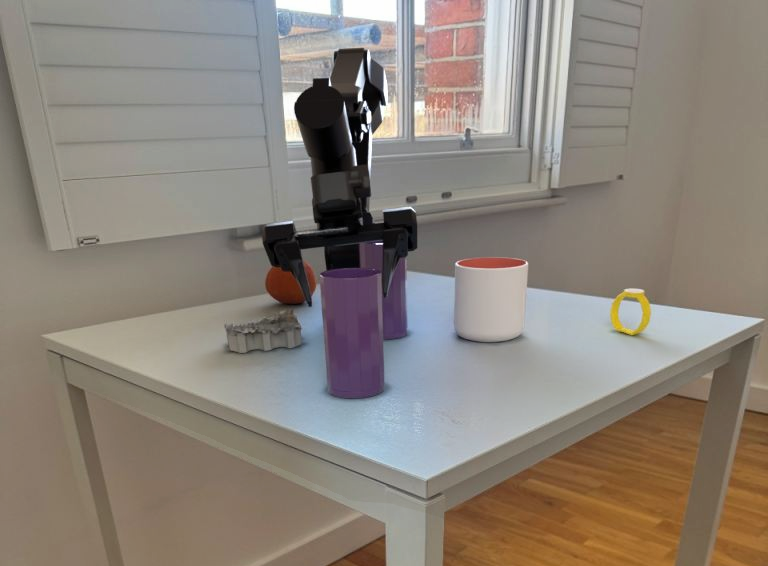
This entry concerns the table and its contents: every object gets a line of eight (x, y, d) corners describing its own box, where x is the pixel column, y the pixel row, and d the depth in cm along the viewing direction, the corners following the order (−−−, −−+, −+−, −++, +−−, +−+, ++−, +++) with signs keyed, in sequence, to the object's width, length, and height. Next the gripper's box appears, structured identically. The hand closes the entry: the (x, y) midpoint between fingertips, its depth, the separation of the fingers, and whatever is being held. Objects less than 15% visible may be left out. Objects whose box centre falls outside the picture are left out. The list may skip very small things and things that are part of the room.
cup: (522, 345, 96) (527, 269, 91) (449, 343, 98) (451, 268, 93) (524, 327, 104) (529, 257, 100) (457, 326, 106) (459, 257, 101)
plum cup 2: (353, 336, 103) (349, 242, 97) (378, 326, 108) (375, 236, 101) (391, 341, 99) (389, 245, 93) (415, 331, 104) (414, 238, 98)
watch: (604, 330, 101) (609, 288, 99) (617, 327, 103) (623, 285, 100) (637, 338, 97) (644, 294, 94) (651, 335, 98) (657, 292, 95)
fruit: (290, 296, 130) (286, 250, 126) (327, 300, 126) (323, 253, 122) (256, 305, 124) (251, 258, 120) (293, 310, 119) (289, 261, 116)
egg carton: (299, 336, 104) (296, 308, 102) (304, 348, 98) (302, 319, 96) (226, 341, 102) (222, 313, 100) (227, 355, 96) (223, 325, 94)
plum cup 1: (316, 390, 81) (307, 274, 75) (356, 377, 85) (350, 265, 79) (356, 402, 77) (349, 280, 71) (396, 387, 81) (393, 271, 75)
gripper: (246, 151, 80) (256, 276, 77) (409, 130, 79) (424, 255, 76) (267, 209, 91) (276, 321, 88) (410, 192, 90) (423, 303, 87)
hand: (347, 300), depth 85 cm, fingers open, 9 cm apart
